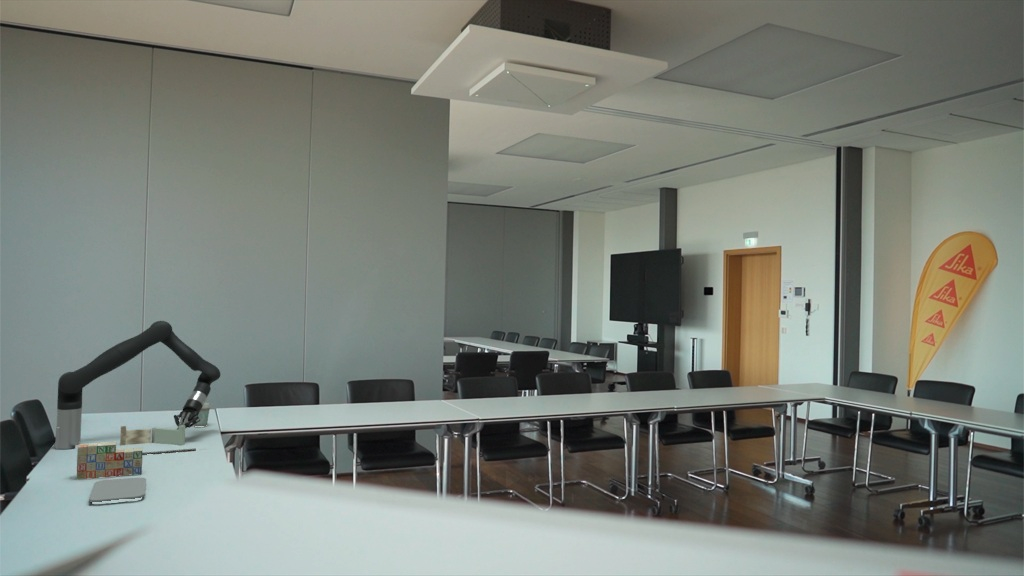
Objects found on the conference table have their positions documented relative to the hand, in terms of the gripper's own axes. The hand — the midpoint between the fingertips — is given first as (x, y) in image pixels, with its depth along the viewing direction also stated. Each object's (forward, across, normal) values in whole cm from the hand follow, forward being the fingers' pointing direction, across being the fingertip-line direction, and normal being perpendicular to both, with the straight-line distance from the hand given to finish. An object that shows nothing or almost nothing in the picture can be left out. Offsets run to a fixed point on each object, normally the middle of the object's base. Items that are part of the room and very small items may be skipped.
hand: (178, 434), depth 310 cm
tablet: (+54, +25, -47) cm, 76 cm away
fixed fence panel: (+7, -17, 0) cm, 19 cm away
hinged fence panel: (+4, -5, +2) cm, 6 cm away
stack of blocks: (+40, +6, -32) cm, 51 cm away
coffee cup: (-28, -18, +37) cm, 50 cm away
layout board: (+8, -8, 0) cm, 11 cm away
